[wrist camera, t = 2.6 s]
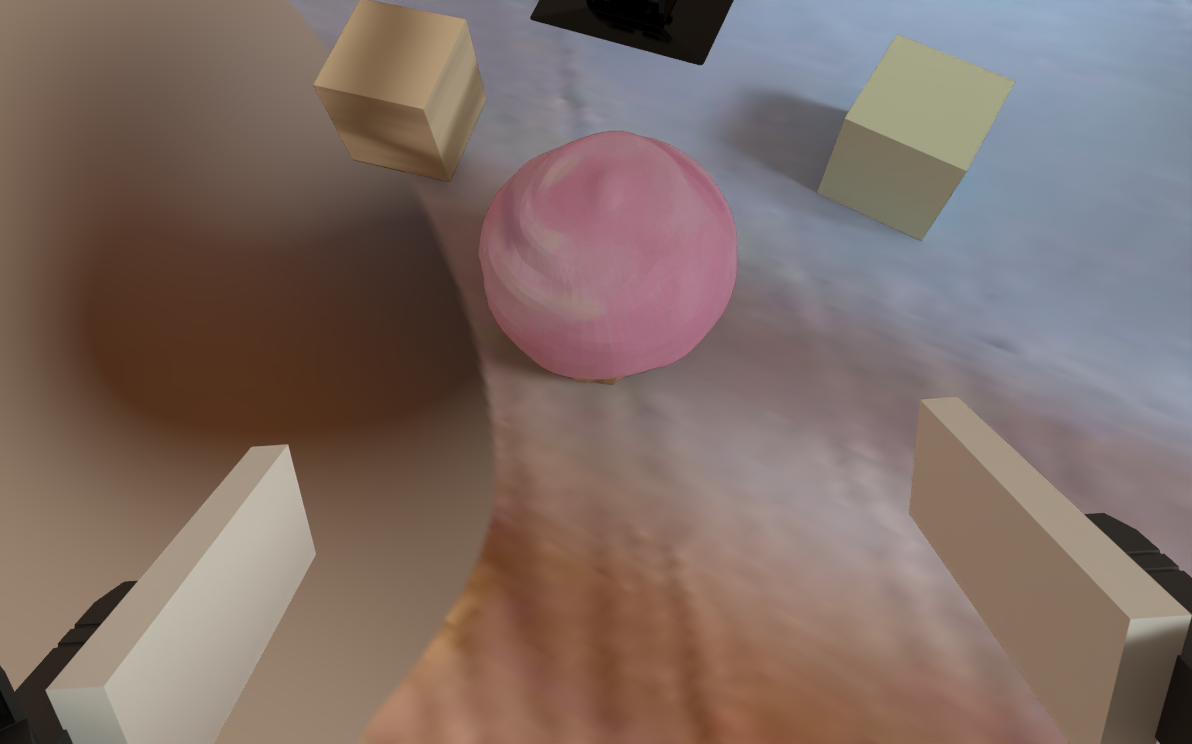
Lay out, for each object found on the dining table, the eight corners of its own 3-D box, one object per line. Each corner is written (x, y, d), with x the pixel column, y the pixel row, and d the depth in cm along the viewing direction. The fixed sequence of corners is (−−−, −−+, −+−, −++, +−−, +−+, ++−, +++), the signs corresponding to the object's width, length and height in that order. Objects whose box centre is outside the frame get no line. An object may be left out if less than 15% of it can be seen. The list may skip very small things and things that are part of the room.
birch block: (486, 100, 38) (466, 19, 33) (450, 183, 36) (423, 109, 31) (393, 80, 39) (360, -2, 34) (353, 160, 37) (312, 84, 32)
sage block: (965, 160, 35) (1015, 81, 31) (921, 242, 34) (966, 171, 29) (863, 117, 36) (897, 34, 32) (816, 193, 35) (844, 118, 30)
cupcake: (670, 219, 35) (683, 49, 25) (751, 387, 31) (800, 263, 22) (482, 284, 34) (425, 133, 25) (546, 463, 31) (508, 367, 21)
